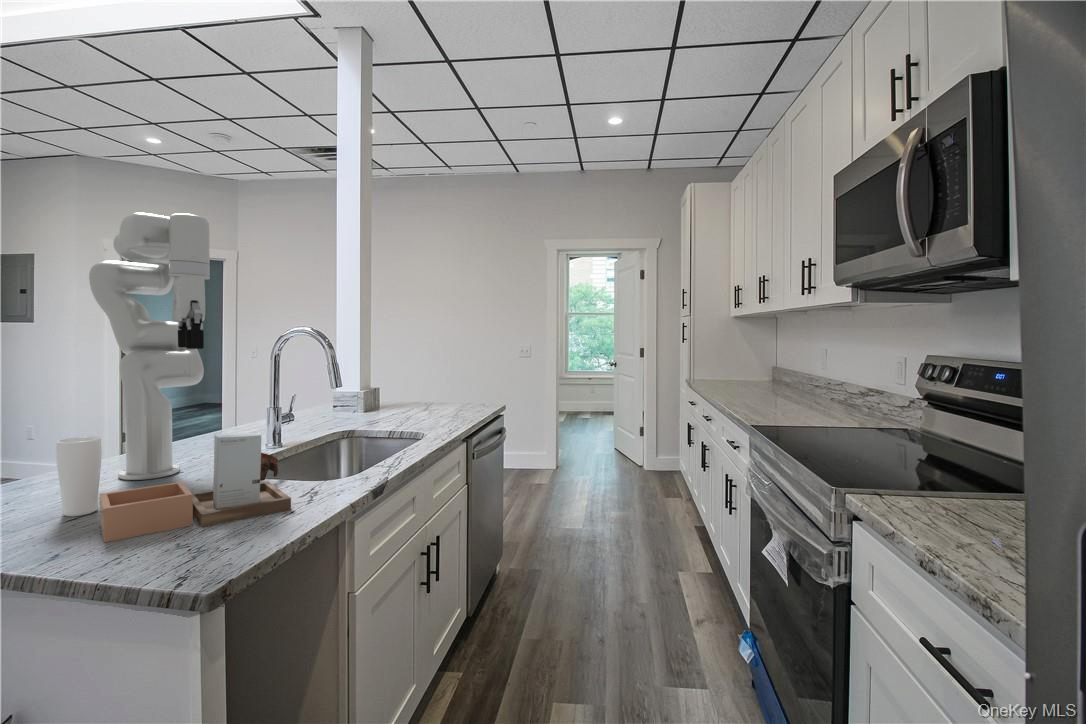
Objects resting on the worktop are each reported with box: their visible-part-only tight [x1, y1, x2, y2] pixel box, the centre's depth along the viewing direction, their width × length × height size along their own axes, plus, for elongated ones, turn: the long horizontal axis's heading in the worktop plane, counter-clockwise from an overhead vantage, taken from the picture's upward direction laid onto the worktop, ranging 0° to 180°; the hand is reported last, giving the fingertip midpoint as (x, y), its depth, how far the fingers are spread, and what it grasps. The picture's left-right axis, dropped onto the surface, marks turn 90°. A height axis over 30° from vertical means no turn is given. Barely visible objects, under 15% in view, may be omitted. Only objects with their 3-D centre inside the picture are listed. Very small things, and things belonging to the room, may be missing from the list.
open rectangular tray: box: [99, 481, 194, 543], centre depth 99 cm, size 11×13×6 cm
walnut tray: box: [191, 480, 292, 528], centre depth 109 cm, size 16×16×2 cm
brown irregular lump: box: [260, 452, 279, 482], centre depth 129 cm, size 12×10×8 cm
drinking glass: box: [55, 435, 103, 517], centre depth 104 cm, size 7×7×15 cm
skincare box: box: [212, 431, 262, 509], centre depth 109 cm, size 8×6×15 cm
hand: (190, 347), depth 116 cm, fingers open, 9 cm apart
